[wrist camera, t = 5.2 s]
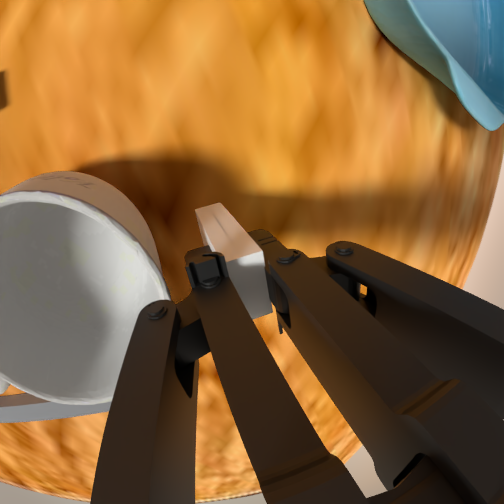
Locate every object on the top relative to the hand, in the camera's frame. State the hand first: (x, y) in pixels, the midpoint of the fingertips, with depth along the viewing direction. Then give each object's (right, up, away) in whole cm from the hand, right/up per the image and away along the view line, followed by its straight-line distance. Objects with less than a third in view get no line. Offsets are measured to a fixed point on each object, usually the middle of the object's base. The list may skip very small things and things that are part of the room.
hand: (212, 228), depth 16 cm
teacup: (-10, -2, 0) cm, 10 cm away
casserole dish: (+20, +28, -3) cm, 34 cm away
